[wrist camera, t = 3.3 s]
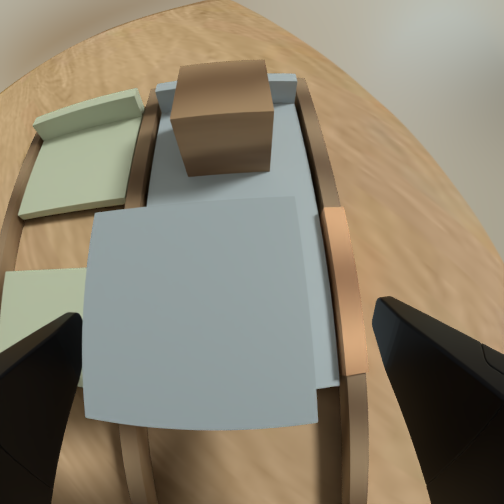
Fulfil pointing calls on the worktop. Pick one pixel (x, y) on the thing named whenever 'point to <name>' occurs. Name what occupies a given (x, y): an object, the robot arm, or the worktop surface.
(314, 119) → the lane rails
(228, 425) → the light blue stand
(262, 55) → the worktop surface
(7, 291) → the broken strip
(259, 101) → the walnut cube
